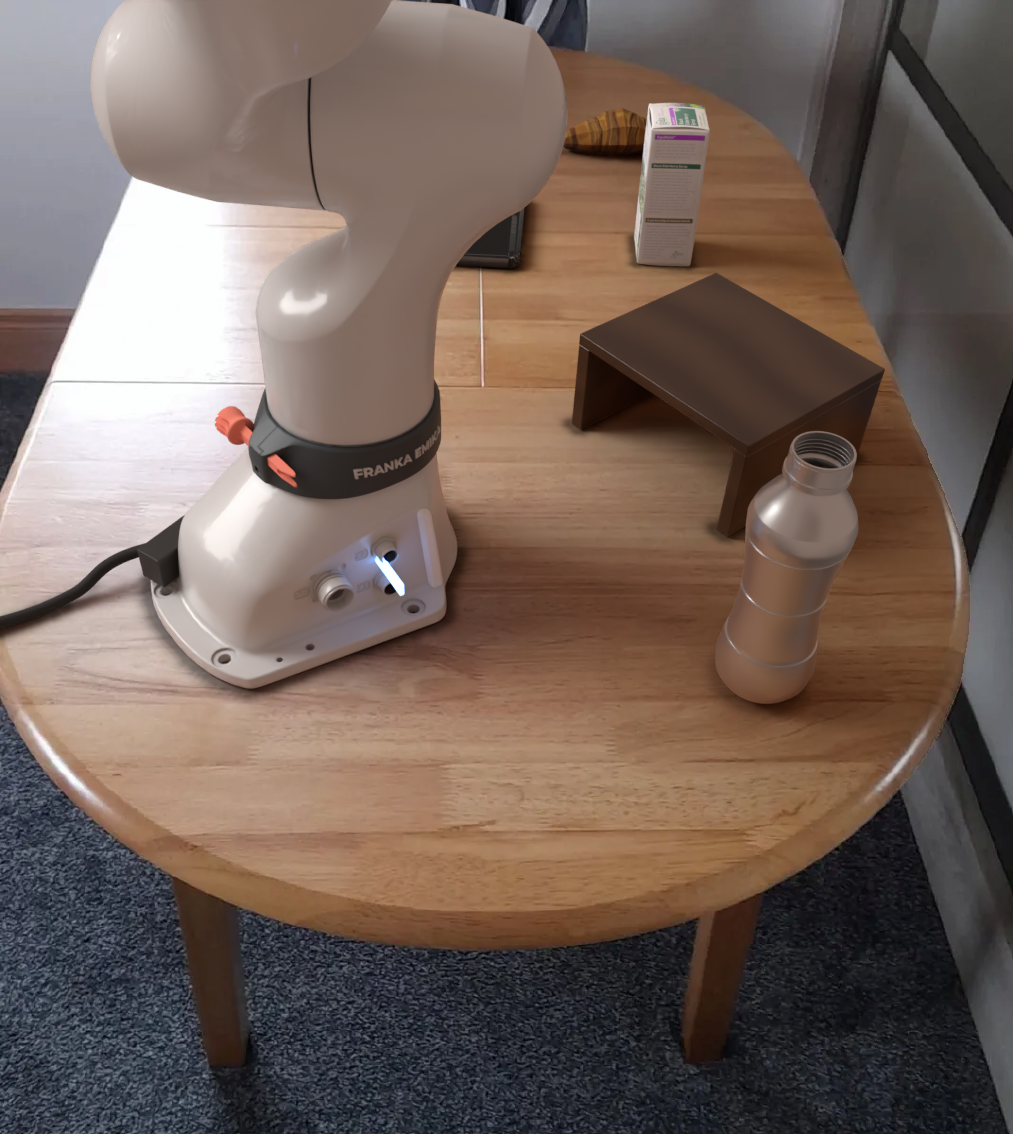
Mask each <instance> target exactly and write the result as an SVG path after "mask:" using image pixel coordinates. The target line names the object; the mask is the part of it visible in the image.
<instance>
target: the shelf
mask: <svg viewBox="0 0 1013 1134" xmlns="http://www.w3.org/2000/svg"><path fill="white" fill-rule="evenodd" d="M578 344H579V346H578V352H577V353H578V354H577V362H576V363H577V365H576V375H575V383H574V384H575V385H574V396H573V405H572V417H571V424H572V425H573V426H574V427H576V429H579V430H581V431H582V430H584V429H586V428H588V427H590V426H592V425H593V424H596V423H598V422H600V421H602V420H604V419H606V418H608V417H611V415H613V414H617V413H618V412H619V411H622V410H623V409H626V408H628V407H631V406H632V405H633V404H635V403H637V402H640V401H641V400H642V401H643V399H645V398H648V397H650V396H651V395H654V396H656V397H657V398H659V399H660V400H662V402H664V403H666V404H668V405H669V406H670V407H672V408H674V409H675V410H676V411H678V412H679V413H681V414H682V415H684V416H686V417H687V418H688V419H690V420H691V421H692V422H694V423H696V424H697V425H699V426H700V427H702V428H703V429H705V430H706V431H708V432H709V433H711V435H713V436H715V437H717V438H718V439H719V440H721V441H723V442H724V443H725V444H727V445H728V446H730V447H731V448H732V449H734V450H733V454H732V459H731V463H730V464H731V465H730V467H729V473H728V477H727V481H726V486H725V491H724V494H723V500H722V504H721V508H720V513H719V517H718V521H717V526H716V530H717V532H720V533H721V534H722V535H724V536H725V537H727V538H729V537H731V536H733V535H734V534H735V533H737V532H739V531H740V530H742V529H743V528H746V519H747V512H748V507H749V505H750V503H751V501H752V499H753V498H754V496H755V495H756V493H757V492H758V491H759V490H760V489H761V487H763V486H764V485H765V484H767V483H768V482H770V481H771V480H772V479H774V478H775V477H777V476H778V475H780V474H782V467H783V464H784V461H785V458H786V457H787V456H788V453H789V449H790V446H791V443H792V442H793V440H794V439H795V438H796V437H797V436H798V435H800V434H802V433H805V432H810V431H823V432H829V433H833V434H836V435H838V436H841V437H843V438H844V439H846V440H847V441H849V442H850V443H851V444H852V445H853V446H854V448H855V450H856V453H857V457H856V459H857V458H858V455H859V452H860V449H861V446H862V443H863V439H864V436H865V433H866V430H867V427H868V424H869V420H870V418H871V414H872V412H873V409H874V405H875V403H876V400H877V396H878V392H879V389H880V386H881V382H882V380H883V377H884V374H885V371H886V369H885V368H884V367H882V366H881V365H879V364H877V363H876V362H874V361H872V360H870V359H868V358H867V357H865V356H863V355H862V354H859V353H858V352H856V351H854V350H852V349H851V348H849V347H848V346H845V345H844V344H842V343H840V342H839V341H837V340H835V339H833V338H832V337H830V336H828V335H826V334H825V333H823V332H821V331H819V330H818V329H816V328H814V327H812V326H810V325H809V324H807V323H806V322H804V321H802V320H800V319H798V318H796V317H795V316H793V315H791V314H789V313H788V312H786V311H785V310H782V309H781V308H779V307H777V306H776V305H774V304H772V303H771V302H768V301H766V300H765V299H763V298H762V297H760V296H759V295H756V294H755V293H753V292H751V291H749V290H747V289H746V288H744V287H742V286H740V285H739V284H737V283H736V282H733V281H732V280H730V279H728V278H727V277H725V276H723V275H721V274H720V273H717V272H714V273H712V274H710V275H707V276H705V277H703V278H701V279H698V280H697V281H694V282H693V283H690V284H688V285H686V286H683V287H681V288H679V289H677V290H675V291H671V292H670V293H668V294H665V295H663V296H661V297H659V298H656V299H655V300H652V301H650V302H648V303H646V304H643V305H641V306H639V307H637V308H634V309H632V310H630V311H628V312H626V313H623V314H620V315H619V316H617V317H615V318H614V317H613V318H612V319H610V320H608V321H605V322H604V323H601V324H599V325H597V326H595V327H592V328H591V329H588V330H585V331H583V332H581V333H579V343H578Z"/></svg>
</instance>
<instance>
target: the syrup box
mask: <svg viewBox="0 0 1013 1134" xmlns="http://www.w3.org/2000/svg"><path fill="white" fill-rule="evenodd" d="M647 107H648V108H647V116H646V118H647V123H646V131H645V140H644V149H643V152H642V159H641V169H640V178H639V185H638V195H637V196H638V197H637V204H636V213H635V223H634V232H633V242H634V251H635V261H636V264H639V265H648V266H660V267H661V266H663V267H665V266H666V267H690V266H691V265H692V264H691V263H692V257H693V252H694V246H695V239H696V234H697V233H696V232H697V227H698V219H699V213H700V206H701V199H702V197H701V196H702V191H703V185H704V176H705V169H706V162H707V161H706V160H707V155H708V154H707V153H708V148H709V141H710V134H711V129H710V124H709V121H708V116H707V112H706V107H705V105H701V104H694V103H688V102H687V103H686V102H685V103H684V102H658V103H657V102H656V103H648V106H647Z"/></svg>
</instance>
